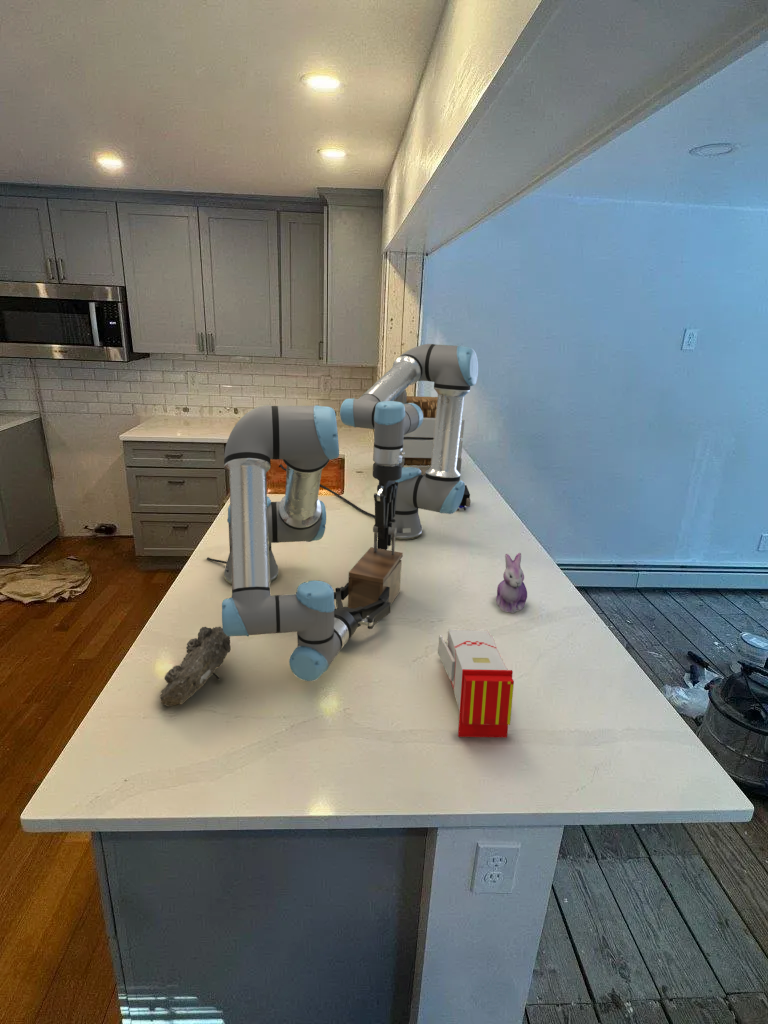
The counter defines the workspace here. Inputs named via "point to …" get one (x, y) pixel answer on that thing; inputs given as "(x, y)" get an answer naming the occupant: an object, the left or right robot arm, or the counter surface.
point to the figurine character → (465, 499)
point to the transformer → (423, 433)
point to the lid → (377, 561)
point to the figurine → (512, 586)
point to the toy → (478, 682)
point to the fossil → (196, 665)
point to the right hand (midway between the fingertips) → (384, 546)
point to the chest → (373, 589)
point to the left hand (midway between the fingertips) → (369, 587)
